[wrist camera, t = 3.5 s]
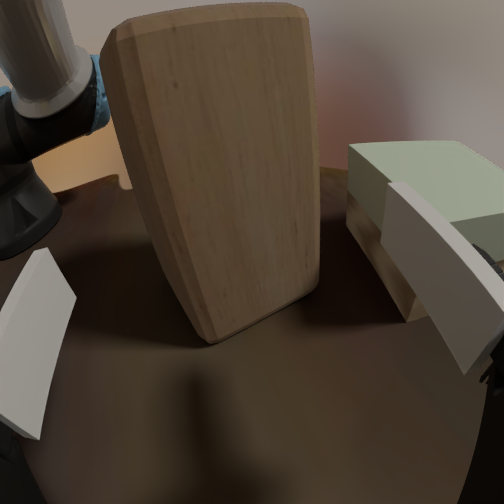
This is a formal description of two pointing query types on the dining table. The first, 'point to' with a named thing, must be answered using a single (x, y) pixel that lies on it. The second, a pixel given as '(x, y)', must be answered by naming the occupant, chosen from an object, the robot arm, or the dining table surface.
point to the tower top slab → (434, 185)
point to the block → (222, 154)
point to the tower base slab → (384, 261)
